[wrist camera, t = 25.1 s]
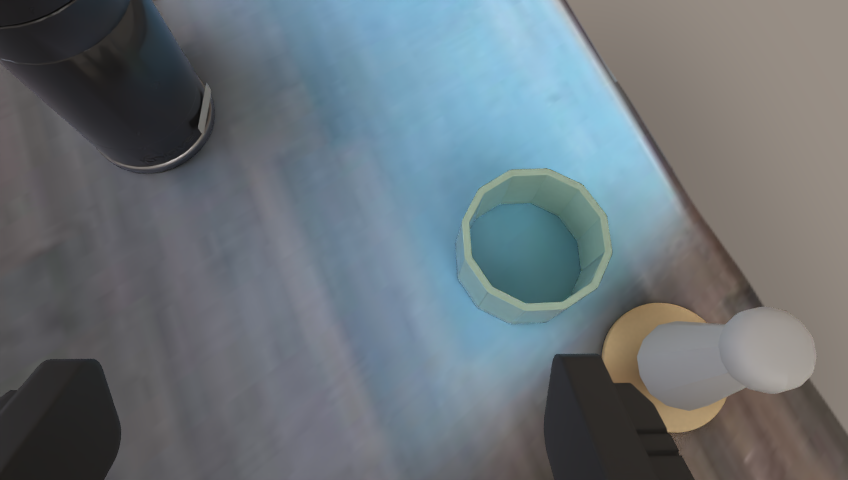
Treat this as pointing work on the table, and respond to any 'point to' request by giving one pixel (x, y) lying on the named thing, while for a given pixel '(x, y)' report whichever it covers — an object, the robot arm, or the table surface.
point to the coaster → (624, 364)
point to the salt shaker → (726, 357)
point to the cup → (557, 199)
